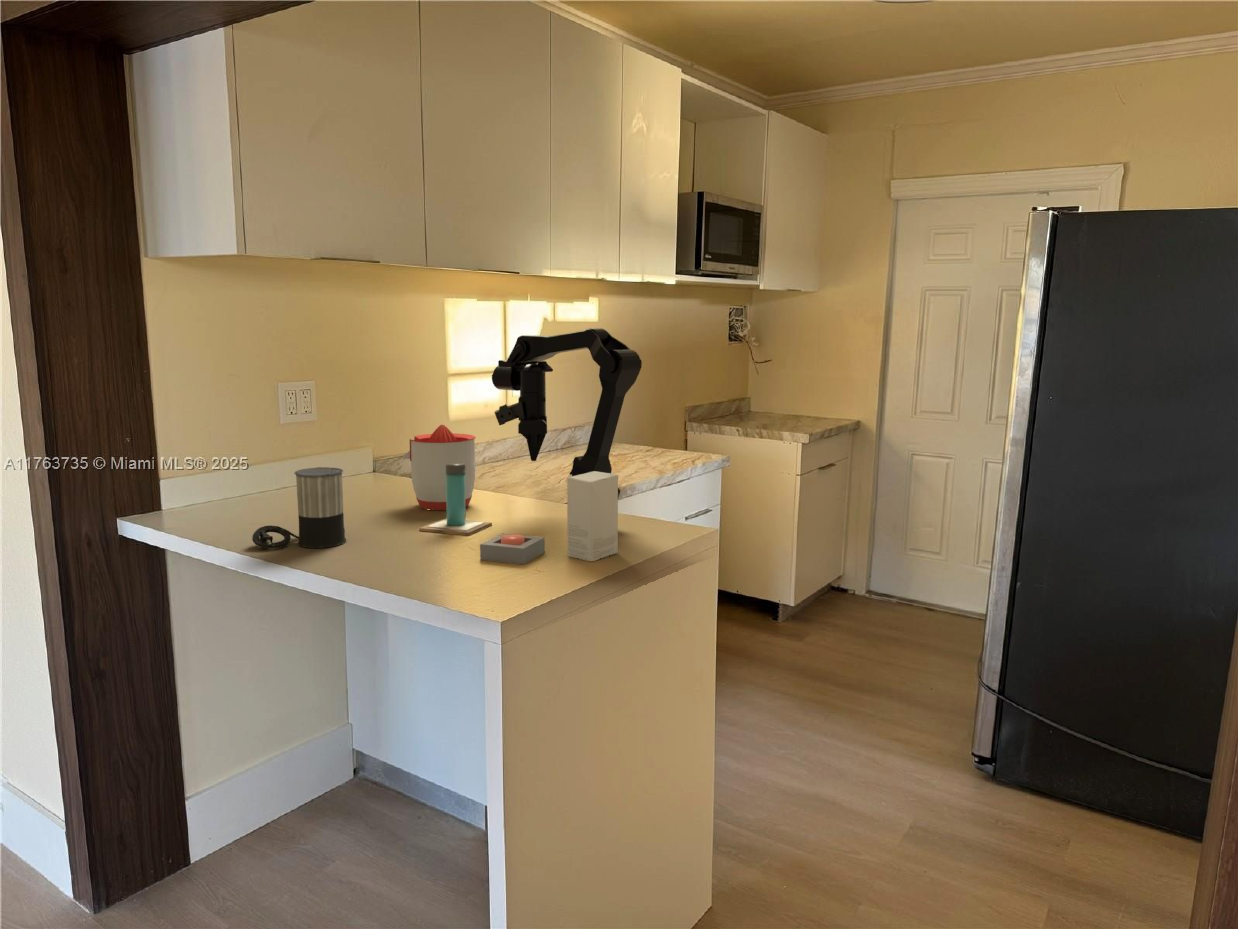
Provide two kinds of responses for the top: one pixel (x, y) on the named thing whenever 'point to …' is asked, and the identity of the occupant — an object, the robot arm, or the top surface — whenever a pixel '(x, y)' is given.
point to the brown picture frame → (455, 527)
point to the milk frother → (313, 511)
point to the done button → (512, 539)
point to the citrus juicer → (439, 465)
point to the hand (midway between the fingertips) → (533, 460)
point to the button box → (512, 550)
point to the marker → (455, 493)
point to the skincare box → (592, 515)
